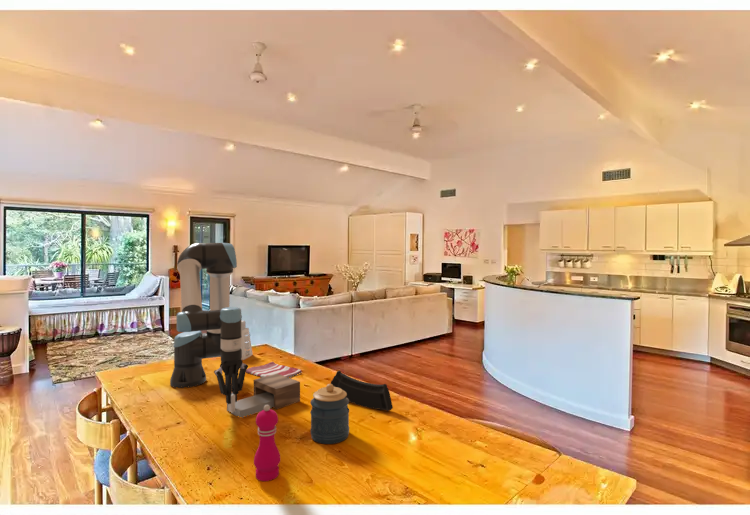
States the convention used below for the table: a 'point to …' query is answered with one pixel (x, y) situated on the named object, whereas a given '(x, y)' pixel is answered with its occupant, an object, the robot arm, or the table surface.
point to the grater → (245, 338)
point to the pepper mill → (267, 446)
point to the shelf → (279, 389)
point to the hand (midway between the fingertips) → (231, 411)
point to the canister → (329, 415)
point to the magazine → (363, 392)
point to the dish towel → (273, 370)
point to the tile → (253, 404)
